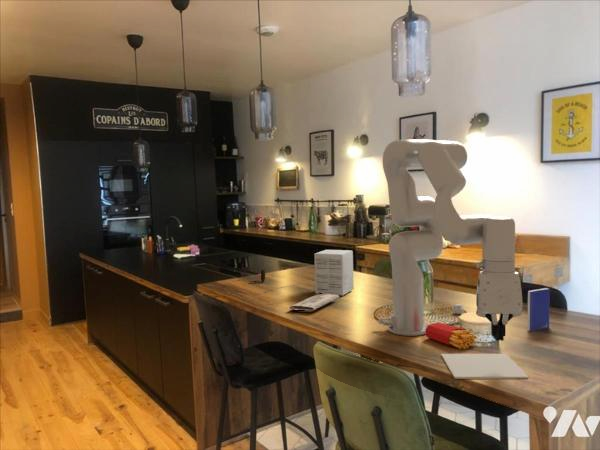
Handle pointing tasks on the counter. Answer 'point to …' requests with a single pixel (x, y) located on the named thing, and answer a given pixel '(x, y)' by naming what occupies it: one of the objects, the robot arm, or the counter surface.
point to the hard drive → (538, 309)
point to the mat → (483, 366)
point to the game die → (457, 309)
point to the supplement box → (334, 272)
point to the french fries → (450, 335)
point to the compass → (261, 278)
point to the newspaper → (314, 302)
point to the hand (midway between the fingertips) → (498, 338)
